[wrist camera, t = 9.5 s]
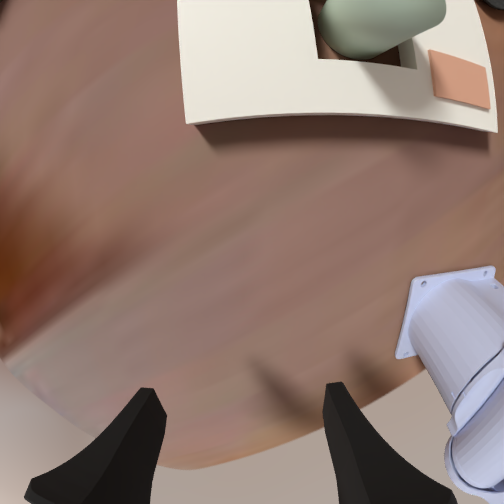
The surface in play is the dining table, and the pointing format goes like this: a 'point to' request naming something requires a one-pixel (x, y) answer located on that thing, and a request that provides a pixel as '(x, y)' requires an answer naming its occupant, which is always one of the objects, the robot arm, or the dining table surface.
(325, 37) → the peg
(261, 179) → the dining table surface
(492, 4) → the sushi plate
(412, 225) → the dining table surface
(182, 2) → the hole board
